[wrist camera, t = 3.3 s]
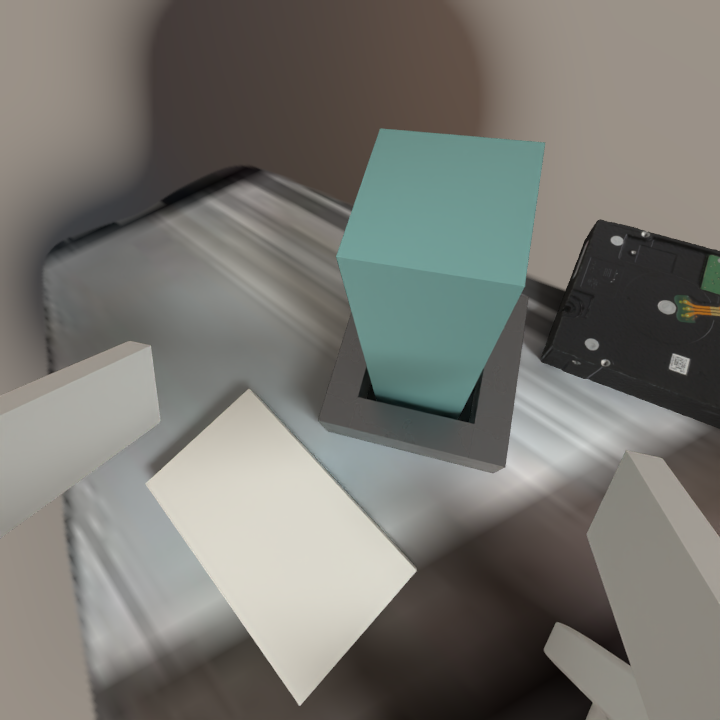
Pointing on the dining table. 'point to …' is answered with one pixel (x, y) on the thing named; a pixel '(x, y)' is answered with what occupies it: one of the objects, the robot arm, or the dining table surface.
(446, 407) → the teal peg
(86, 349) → the dining table surface
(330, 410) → the socket block
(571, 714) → the dining table surface
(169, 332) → the dining table surface
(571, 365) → the disk drive
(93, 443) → the robot arm
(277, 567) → the off-white pad
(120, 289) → the dining table surface
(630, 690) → the cable organizer
